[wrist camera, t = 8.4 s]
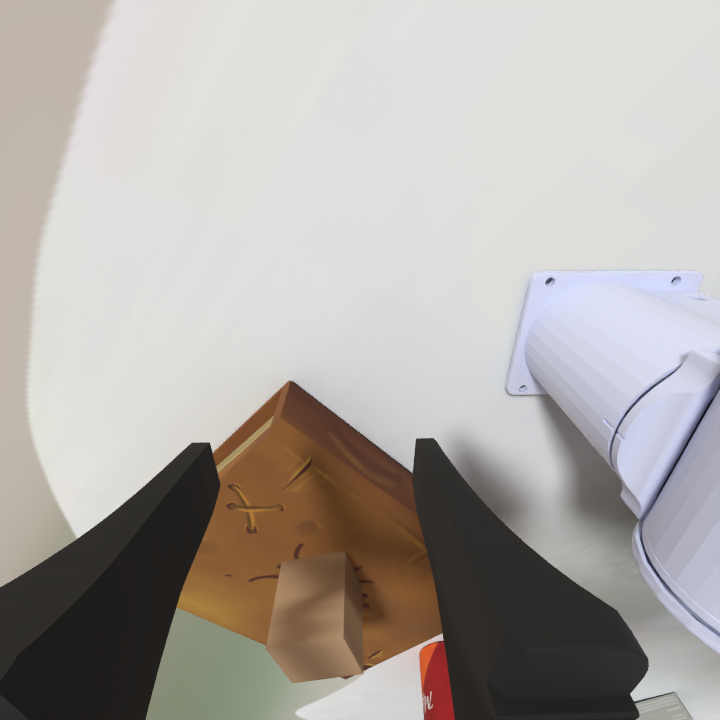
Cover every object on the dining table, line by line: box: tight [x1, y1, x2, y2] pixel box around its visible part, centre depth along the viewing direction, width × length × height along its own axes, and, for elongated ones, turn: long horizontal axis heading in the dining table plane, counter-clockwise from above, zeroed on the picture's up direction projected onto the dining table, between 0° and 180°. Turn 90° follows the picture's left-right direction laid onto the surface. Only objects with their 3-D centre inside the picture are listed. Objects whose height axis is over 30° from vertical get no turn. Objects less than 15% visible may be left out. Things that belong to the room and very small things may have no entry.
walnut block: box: [266, 551, 363, 683], centre depth 23 cm, size 4×4×5 cm
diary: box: [177, 381, 443, 679], centre depth 28 cm, size 23×19×6 cm
